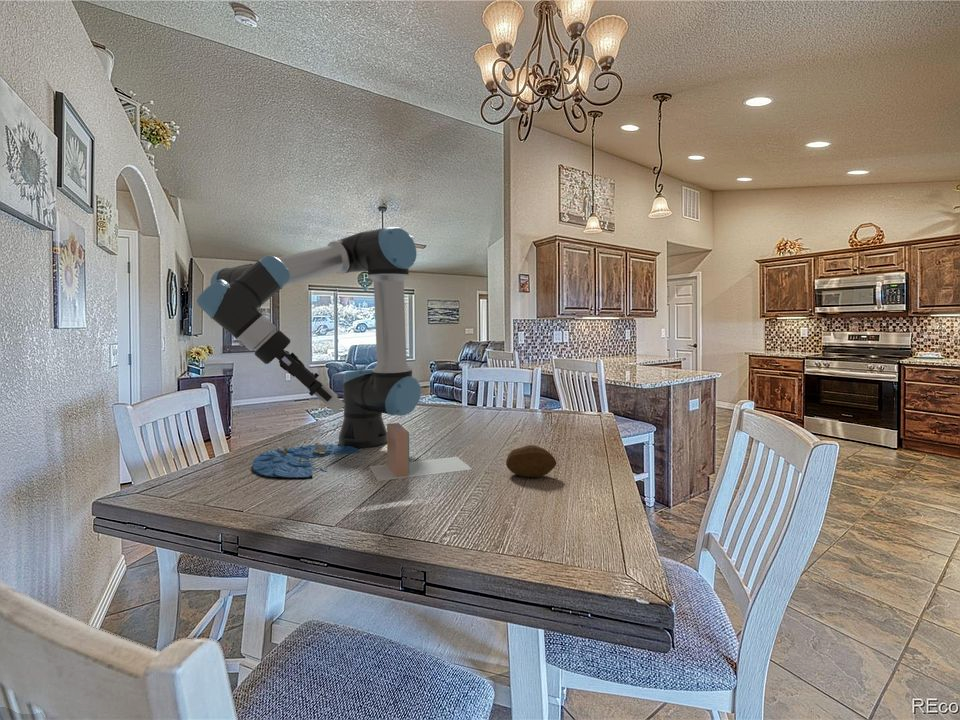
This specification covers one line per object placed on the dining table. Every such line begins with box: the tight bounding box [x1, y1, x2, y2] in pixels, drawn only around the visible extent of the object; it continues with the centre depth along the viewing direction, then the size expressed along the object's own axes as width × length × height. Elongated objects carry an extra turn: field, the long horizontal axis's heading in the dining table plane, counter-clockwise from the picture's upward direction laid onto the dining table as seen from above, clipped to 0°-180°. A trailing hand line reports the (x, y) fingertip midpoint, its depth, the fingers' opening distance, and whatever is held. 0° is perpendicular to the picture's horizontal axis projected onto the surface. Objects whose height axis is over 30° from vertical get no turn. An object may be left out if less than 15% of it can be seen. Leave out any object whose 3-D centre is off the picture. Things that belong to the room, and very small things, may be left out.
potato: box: [505, 444, 557, 478], centre depth 117 cm, size 8×12×8 cm, turn 88°
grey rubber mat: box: [369, 456, 473, 482], centre depth 121 cm, size 12×24×1 cm, turn 113°
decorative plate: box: [252, 442, 360, 479], centre depth 129 cm, size 30×30×5 cm
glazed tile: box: [386, 422, 410, 477], centre depth 118 cm, size 10×3×11 cm, turn 23°
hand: (337, 403), depth 112 cm, fingers open, 13 cm apart
